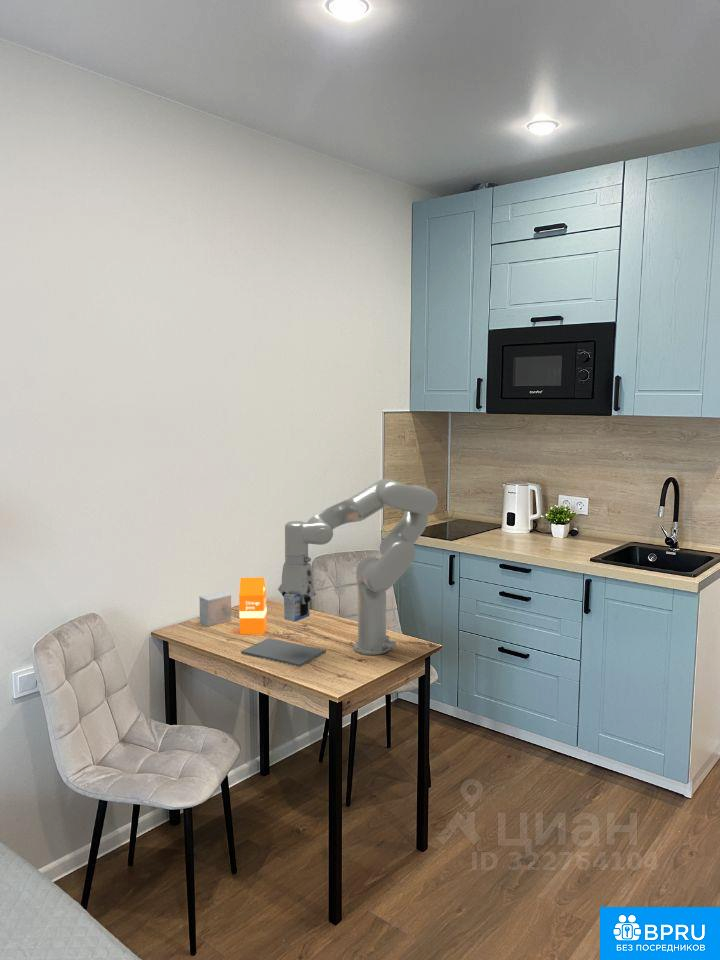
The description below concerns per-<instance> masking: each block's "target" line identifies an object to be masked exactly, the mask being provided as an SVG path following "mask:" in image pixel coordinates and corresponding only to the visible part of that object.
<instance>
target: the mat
mask: <svg viewBox="0 0 720 960" xmlns="http://www.w3.org/2000/svg"><path fill="white" fill-rule="evenodd" d="M241 653H242V655H246V656H250V655H251V656H252V657H255V656H256V657H255V658H259V657H261V658H260V659H263V658H266V659H265V660H268V659H270V660H269V661H272V660H274V662H277V661H279V662H278V663H281V662H283V663H282V664H286V663H287V664H286V665H290V664H291V665H290V666H294V665H296V667H299V666H301V667H302V666H304V665H306V664H308V663H309V662H311V661H313V660H315V659H316V658H318V657H320V656H321V654H322V655H323V654H325V653H326V649H323V648H318V647H314V646H309V645H303V644H299V643H294V642H290V641H285V640H281V639H275V638H270V637H268V638H266V639H263V640H262V641H260V642H258V643H255V644H253V645H250V646H248V647H246V648H244V649H243V650H240V654H241ZM314 658H315V659H314ZM312 659H313V660H312ZM307 662H308V663H307ZM305 663H306V664H305ZM303 664H304V665H303Z"/></svg>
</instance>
